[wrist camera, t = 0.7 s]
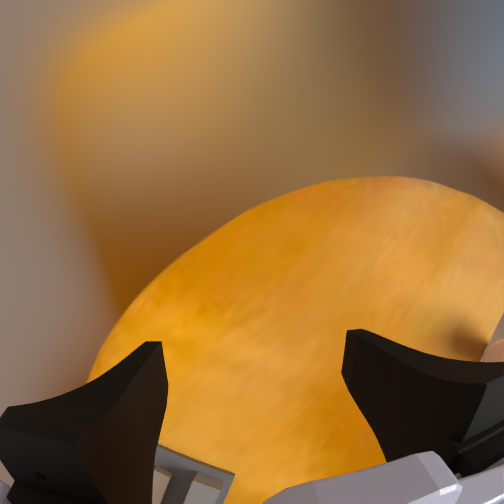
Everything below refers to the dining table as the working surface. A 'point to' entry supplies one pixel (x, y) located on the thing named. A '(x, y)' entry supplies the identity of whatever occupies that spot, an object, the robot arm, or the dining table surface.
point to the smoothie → (494, 352)
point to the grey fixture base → (187, 480)
